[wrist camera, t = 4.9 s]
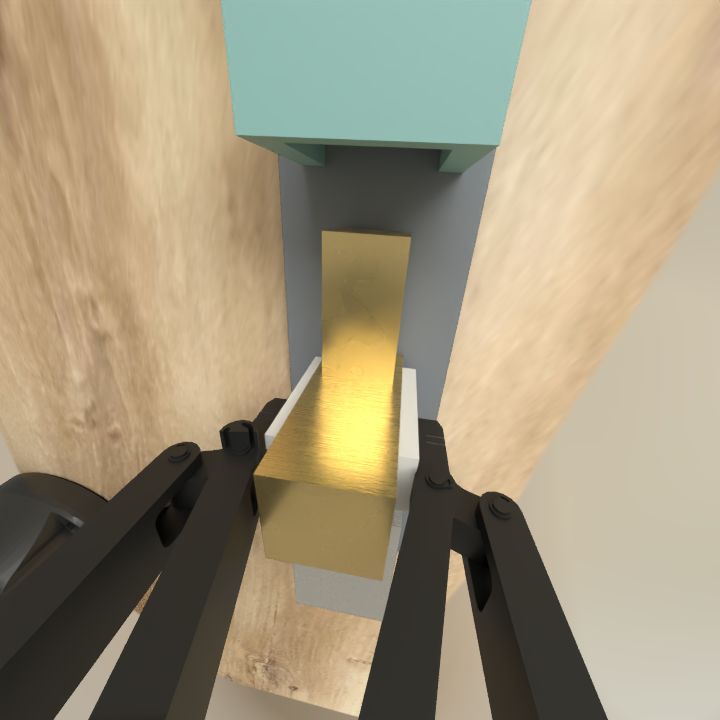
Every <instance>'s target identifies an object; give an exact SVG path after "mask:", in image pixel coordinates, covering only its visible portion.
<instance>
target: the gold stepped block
mask: <svg viewBox="0 0 720 720" xmlns="http://www.w3.org/2000/svg"><path fill="white" fill-rule="evenodd" d="M410 243H411V232H403V231H389V230H375V229H361V228H347V227H338V228H333V229H328V230H323V231H322V360H321V362H320V364H319V365H318V367H317V369H316V370H315V372H314V374H313V375H312V377H311V379H310V380H309V382H308V384H307V385H306V387H305V389H304V390H303V392H302V394H301V395H300V397H299V399H298V400H297V402H296V404H295V405H294V407H293V409H292V410H291V412H290V414H289V415H288V417H287V419H286V420H285V422H284V424H283V425H282V427H281V429H280V430H279V432H278V434H277V435H276V437H275V439H274V440H273V442H272V444H271V445H270V447H269V449H268V450H267V452H266V454H265V455H264V457H263V459H262V460H261V462H260V464H259V465H258V467H257V469H256V470H255V472H254V474H253V476H254V483H255V489H256V496H257V503H258V509H259V516H260V523H261V529H262V536H263V543H264V549H265V556H266V558H269V559H274V560H279V561H284V562H289V563H294V564H299V565H304V566H309V567H314V568H319V569H324V570H329V571H334V572H339V573H344V574H349V575H354V576H358V577H363V578H368V579H373V580H378V581H383V575H384V569H385V563H386V557H387V551H388V545H389V539H390V533H391V527H392V521H393V515H394V509H395V503H396V494H397V473H398V452H399V431H400V411H401V390H402V369H403V354H396V353H397V346H398V338H399V330H400V322H401V314H402V306H403V298H404V290H405V282H406V274H407V267H408V259H409V251H410Z"/></svg>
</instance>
